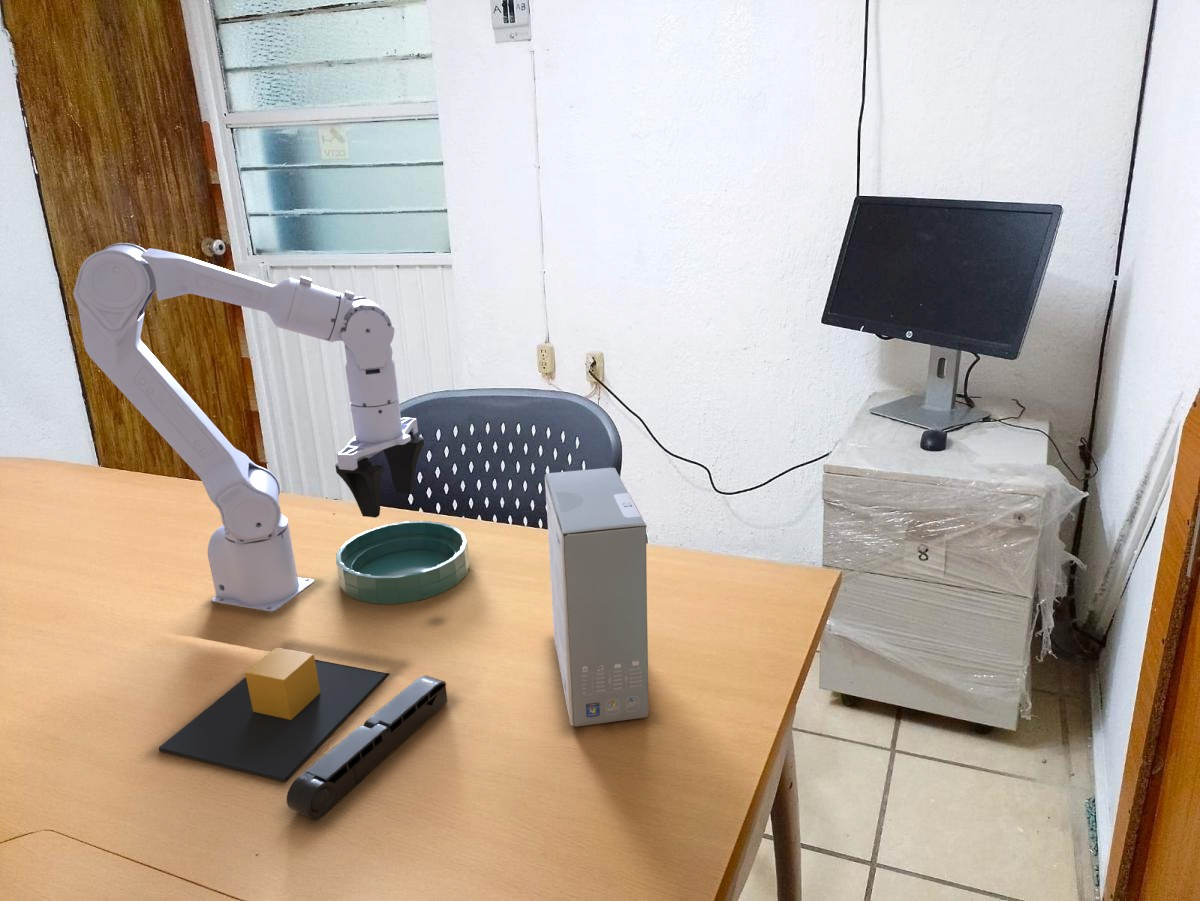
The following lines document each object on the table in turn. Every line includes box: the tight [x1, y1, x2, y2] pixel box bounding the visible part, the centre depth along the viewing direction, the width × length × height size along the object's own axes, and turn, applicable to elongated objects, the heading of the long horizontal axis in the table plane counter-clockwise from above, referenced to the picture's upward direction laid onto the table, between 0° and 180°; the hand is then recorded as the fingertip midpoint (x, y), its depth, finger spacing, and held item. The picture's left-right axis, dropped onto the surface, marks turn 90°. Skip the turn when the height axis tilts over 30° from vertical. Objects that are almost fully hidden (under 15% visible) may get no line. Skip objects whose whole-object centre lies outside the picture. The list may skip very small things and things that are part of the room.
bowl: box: [335, 520, 471, 605], centre depth 106 cm, size 16×16×4 cm
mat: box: [158, 659, 390, 783], centre depth 82 cm, size 14×18×1 cm
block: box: [244, 647, 320, 720], centre depth 81 cm, size 4×4×4 cm
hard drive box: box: [544, 467, 649, 728], centre depth 81 cm, size 16×8×20 cm, turn 9°
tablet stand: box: [286, 675, 448, 820], centre depth 74 cm, size 18×3×3 cm, turn 152°
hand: (388, 503), depth 105 cm, fingers open, 7 cm apart
